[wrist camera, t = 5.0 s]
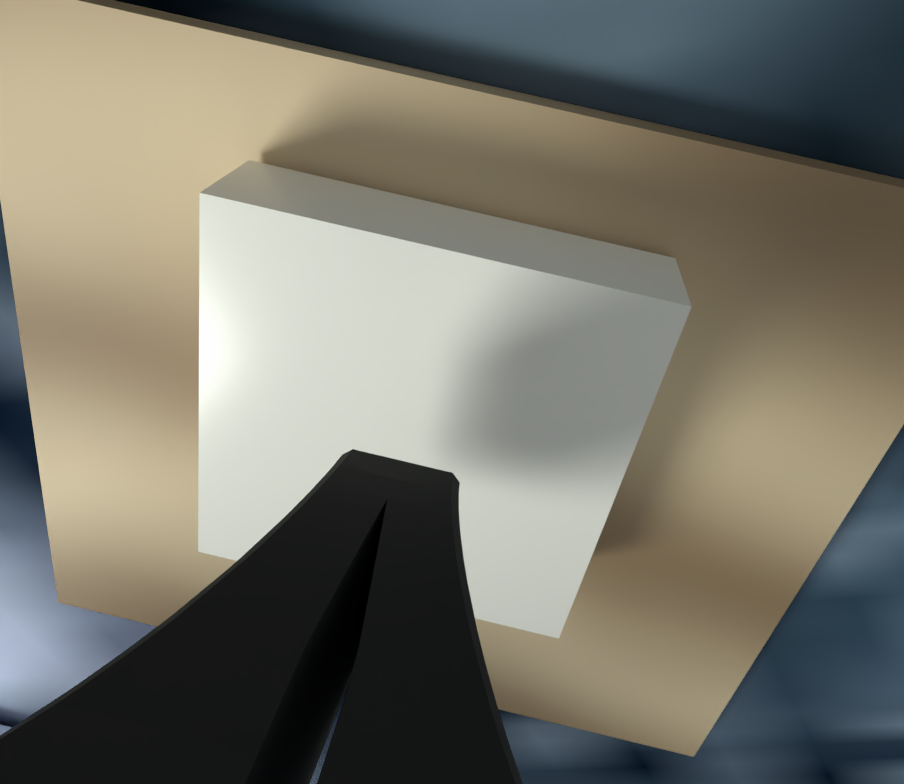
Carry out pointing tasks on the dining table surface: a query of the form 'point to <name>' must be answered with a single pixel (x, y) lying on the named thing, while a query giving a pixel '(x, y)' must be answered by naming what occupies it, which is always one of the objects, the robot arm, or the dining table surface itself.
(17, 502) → the dining table surface
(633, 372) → the block
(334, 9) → the dining table surface
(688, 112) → the dining table surface
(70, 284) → the mat
